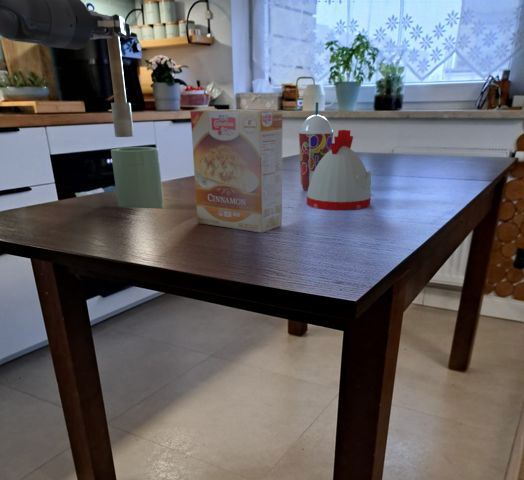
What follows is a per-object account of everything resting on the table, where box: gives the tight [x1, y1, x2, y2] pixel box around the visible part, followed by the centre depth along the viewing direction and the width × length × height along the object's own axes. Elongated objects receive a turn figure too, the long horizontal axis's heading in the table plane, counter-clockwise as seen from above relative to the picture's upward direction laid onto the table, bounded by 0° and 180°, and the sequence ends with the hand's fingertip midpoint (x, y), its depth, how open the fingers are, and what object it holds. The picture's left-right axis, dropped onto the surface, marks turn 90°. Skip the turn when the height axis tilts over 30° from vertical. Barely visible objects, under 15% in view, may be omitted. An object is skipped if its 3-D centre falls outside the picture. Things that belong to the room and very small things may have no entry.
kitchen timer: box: [306, 129, 372, 211], centre depth 111 cm, size 14×14×15 cm
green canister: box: [110, 146, 164, 210], centre depth 109 cm, size 9×9×12 cm
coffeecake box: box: [189, 109, 283, 234], centre depth 92 cm, size 15×7×20 cm, turn 56°
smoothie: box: [298, 102, 334, 192], centre depth 127 cm, size 8×8×20 cm
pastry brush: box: [106, 15, 135, 138], centre depth 97 cm, size 4×4×20 cm
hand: (122, 31), depth 96 cm, fingers closed on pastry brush, 2 cm apart
